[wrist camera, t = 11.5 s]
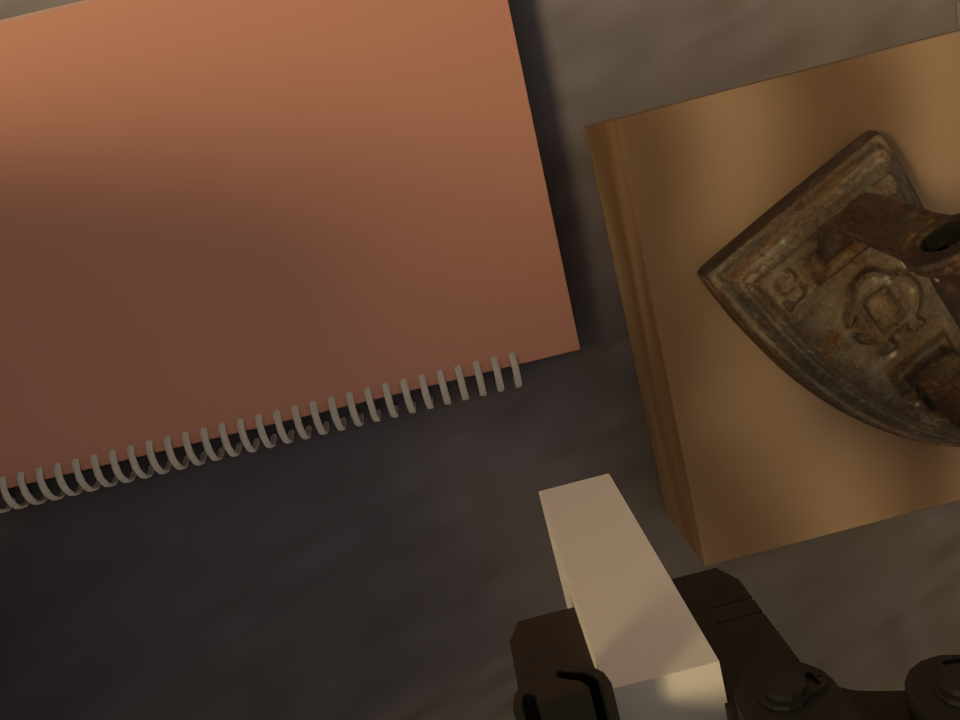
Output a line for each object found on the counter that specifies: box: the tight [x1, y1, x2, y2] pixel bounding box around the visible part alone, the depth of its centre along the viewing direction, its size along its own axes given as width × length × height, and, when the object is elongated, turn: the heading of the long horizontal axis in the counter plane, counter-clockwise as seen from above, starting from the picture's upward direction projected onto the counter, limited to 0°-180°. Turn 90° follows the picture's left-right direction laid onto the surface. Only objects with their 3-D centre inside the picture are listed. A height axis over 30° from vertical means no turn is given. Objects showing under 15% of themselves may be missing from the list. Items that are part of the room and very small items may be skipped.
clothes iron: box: [697, 130, 960, 447], centre depth 25 cm, size 7×11×10 cm, turn 41°
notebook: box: [0, 0, 580, 513], centre depth 30 cm, size 27×17×2 cm, turn 103°
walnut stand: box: [585, 30, 960, 567], centre depth 30 cm, size 14×16×5 cm
